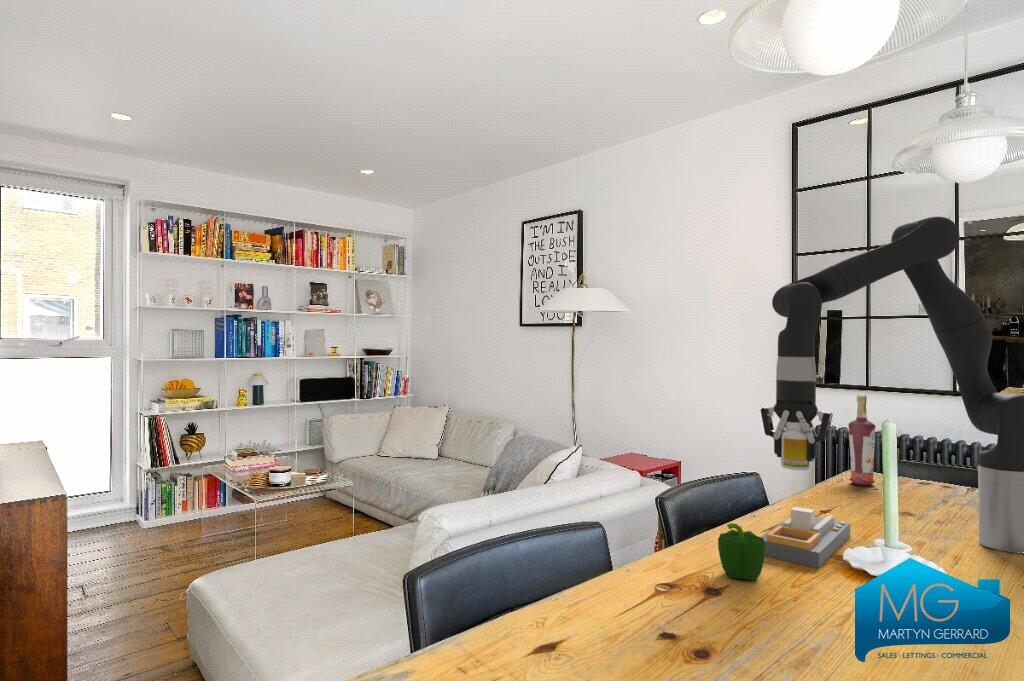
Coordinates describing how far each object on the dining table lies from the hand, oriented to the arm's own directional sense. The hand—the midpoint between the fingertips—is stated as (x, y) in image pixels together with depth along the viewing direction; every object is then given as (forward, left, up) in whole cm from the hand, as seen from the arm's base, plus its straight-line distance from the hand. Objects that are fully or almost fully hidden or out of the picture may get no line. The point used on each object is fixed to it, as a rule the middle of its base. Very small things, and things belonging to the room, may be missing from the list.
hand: (795, 458), depth 124 cm
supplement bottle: (0, 0, -2) cm, 2 cm away
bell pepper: (+4, +19, -20) cm, 28 cm away
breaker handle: (0, -6, -17) cm, 18 cm away
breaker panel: (0, -8, -20) cm, 21 cm away
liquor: (+3, -80, -20) cm, 82 cm away
